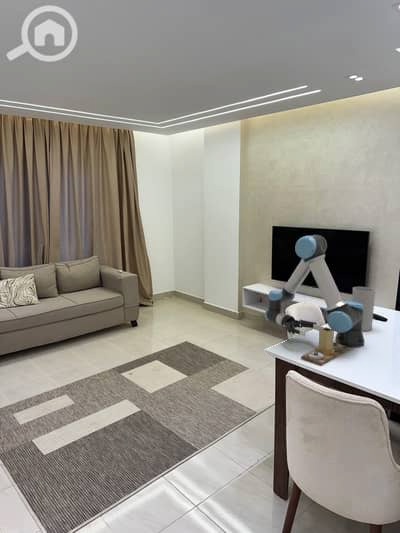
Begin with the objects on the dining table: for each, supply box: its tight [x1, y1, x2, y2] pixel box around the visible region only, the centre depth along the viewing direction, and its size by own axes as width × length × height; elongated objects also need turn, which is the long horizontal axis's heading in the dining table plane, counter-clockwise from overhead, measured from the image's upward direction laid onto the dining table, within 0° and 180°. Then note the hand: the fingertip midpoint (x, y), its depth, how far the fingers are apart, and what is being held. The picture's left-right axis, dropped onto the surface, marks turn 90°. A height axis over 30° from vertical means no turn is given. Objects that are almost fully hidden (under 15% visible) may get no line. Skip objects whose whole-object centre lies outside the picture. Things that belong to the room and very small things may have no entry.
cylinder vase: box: [351, 286, 376, 332], centre depth 229 cm, size 12×12×25 cm
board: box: [300, 340, 349, 367], centre depth 190 cm, size 28×11×8 cm, turn 133°
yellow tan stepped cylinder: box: [316, 327, 335, 355], centre depth 189 cm, size 9×9×12 cm
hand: (314, 332), depth 196 cm, fingers open, 13 cm apart
